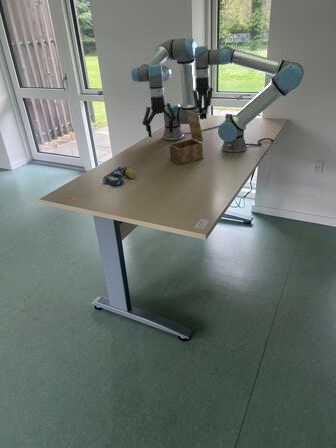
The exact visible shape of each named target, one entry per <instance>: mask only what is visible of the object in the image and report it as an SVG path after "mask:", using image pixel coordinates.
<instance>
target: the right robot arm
mask: <svg viewBox="0 0 336 448" xmlns="http://www.w3.org/2000/svg"><path fill="white" fill-rule="evenodd" d="M221 65H222V66H224V65H234V66H238V67H242V68H246V69H248V70H252V71H256V72H260V73H263V74H267V75H270V76H273V77H271V78H270V83H268V85H267V86H266V87H264V89H262V91H260V92H259V93H258V94H257V95H256V96H255V97H253V98H252V99H251V100H249V102H248V103H246V104H245V106H243V107H242V108H241V109H240V110H239V111H237V112H226V113H225V117H224V118H225V120H224V121H223V122H222V123H221V124H219V125H220V126H219V125H218V126H219V127H218V129H217V135H218V137H219V139H221V140H222V141H223V143H222V146H221V147H222V148H221V149H222V151H223V152H226V153H232V154H236V153H237V154H238V153H242V152H244V151H246V150H247V146H257V147H259V146H262V143H263V142H261V141H266V140H267V141H268V140H269V141H271V142H274V139H272V138H270V137H265V138H260V139H258V140H257V143H246V140H245V130H246V129H247V125H249V124H250V123H251V122H252V121H253V120H254V119H256V118H257V117H259V116H258V115H261V113H262V112H263V111H265V110H266V109H267V108H268V107H270V106H271V105H272V104H273V103H274V102H275V101H277V100H278V99H279V98H280V97H286V96H287V95H288V94H289V93H290V92H291V91H293V90H296V89H297V88H298V87H299V86H300V84H301V83H302V80H303V77H304V73H305V71H304V68H303V65H301V64H300V63H299V62H296V61H291V60H285V59H280V60H277V59H273V58H271V57H266V56H261V55H257V54H255V53H250V52H248V51H243V50H239V49H235V48H232V47H231V46H227V45H226V46H223V47H221V48H218V49H209V46H208V45H199V46H198V45H197V47H196V48H195V62H194V69H195V72H194V75H195V76H194V77H195V88H194V91H192V93H193V95H194V101H195V107H197V108H198V109H199V114H200V113H202V112H203V110H206V111H207V112H208V108H209V107H210V106H211V103H212V93H213V90H214V87H210V84H209V83H210V71H209V70H210V69H209V68H210V66H221ZM207 115H208V113H203V114H201V115H200V120H203V121H204V119H205V120H207Z"/></svg>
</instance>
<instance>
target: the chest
mask: <svg viewBox="0 0 336 448" xmlns="http://www.w3.org/2000/svg"><path fill="white" fill-rule="evenodd" d="M168 145H169V146H168V147H169V158H170V160H171V161H172V162H174V163H176V164H177V165H179V166H180V165H183V164H187V163H192V162H196V161H199V160H202V159H204V151H203V149H204V148H203V147H204V146H203V145H204V144H203V142H200V141H197V140H195V139H193V138H190V139H187V140H186V139H185V140H182V141H178V142H174V143H169V144H168Z"/></svg>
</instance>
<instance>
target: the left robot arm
mask: <svg viewBox="0 0 336 448" xmlns="http://www.w3.org/2000/svg"><path fill="white" fill-rule="evenodd" d="M196 47H198V45H197V42H196V40H195V39H194V38H191V37H185V38H184V37H183V38H174V39H173V38H171V39H168V40H166V41H163V42H162V43H161V44H159V45H157V47H156V48H155V49H154V52H153V53H152V54H151V55H150V56H149V57H148V58H147V59H146V60H145V61H144V62H143V63H142V64H141V65H140V66H139V67H138V66H136V67H133V68H132V69H131V70H130V71H131V73H130V75H131V79H132V81H133V82H135V83H143V82H144V83H147V82H148V84H149V96H150V105H151V106H146V107H145V114H144V117H143V120H142V125H143V126H145V130H146V132H147V133H148V137H149V138H152V128H151V123H152V121H153V120H154V117H155V116H156V115H159V114H163V122H164V130H163V135H162V139H163V140H164V141H167V142H176V141H180V140H182V139H184V137H185V136H184V135H191V132H183V129H182V126H181V125H189V121H188V116H187V112H186V111H187V110H189V111H192V112H196V111H198V110H199V109H198V108H197V107H195V101H194V95H193V93H192V91H194V90H195V76H194V75H195V73H194V64H195V48H196ZM175 60H176V64H177V65H178V66H179V75H180V85H181V98H182V103H181V105H180V104H178V103H174V104H171V103H169V102H166V103H165V101H166V100H165V90H164V89H165V88H164V82H166V81H168V80H169V79H170V78H171V77H172V72H173V71H172V69H171V67H169V66H168V65H162V64H163V63H166V62H168V61H175ZM197 113H198V114H199V112H197ZM257 117H262V115H261V114H259V115H258V116H257ZM200 120H201V119H200V115H199V121H200ZM220 125H221V124H219V125H215V126H213V127H208V128H205V129H201V132H204V131H207V130H212V129H215V128H219V126H220Z"/></svg>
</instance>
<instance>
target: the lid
mask: <svg viewBox="0 0 336 448" xmlns="http://www.w3.org/2000/svg"><path fill="white" fill-rule="evenodd" d="M186 112H187V116H188V121H189V124H188V126H189V130H190V133H191V134H190V135H191V139H194V140H197V141H199V142H201V143H204V139H203V138H204V137H203V133H202V132H203V131H201V130H202V128H201V121H200V120H199V115H201V114H203V113H206V114H208V110H207V111H206V110H203V112H202V113H200V114H198V113H197V112H199V110H198V111H196V112H192V111H189V110H187V111H186Z"/></svg>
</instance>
